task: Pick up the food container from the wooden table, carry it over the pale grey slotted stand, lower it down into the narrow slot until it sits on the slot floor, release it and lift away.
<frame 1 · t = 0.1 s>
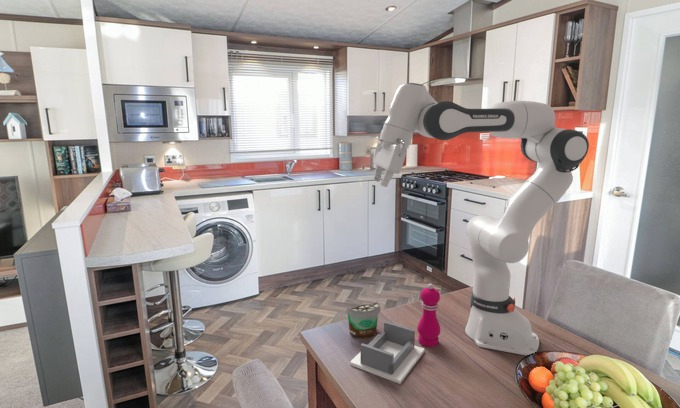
hand: (379, 183, 116), 52 cm above the table, tool tilted 20°, fingers open, 8 cm apart
food container: (366, 335, 131), on the table
pepper mill: (428, 342, 127), on the table
slot stand: (388, 358, 118), on the table
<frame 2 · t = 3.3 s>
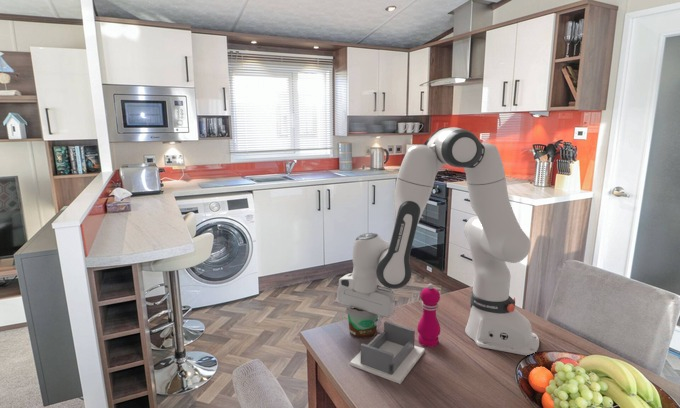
hand: (364, 321, 130), 5 cm above the table, tool pointing down, fingers open, 8 cm apart
food container: (366, 335, 131), on the table, touching gripper
everything else where it was.
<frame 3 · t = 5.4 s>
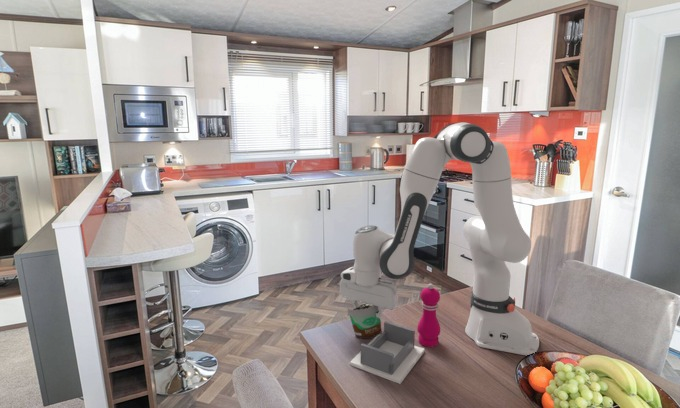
hand: (368, 314, 130), 7 cm above the table, tool pointing down, fingers closed on food container, 7 cm apart
food container: (372, 334, 130), point 1 cm above the table, touching gripper
everything else where it was.
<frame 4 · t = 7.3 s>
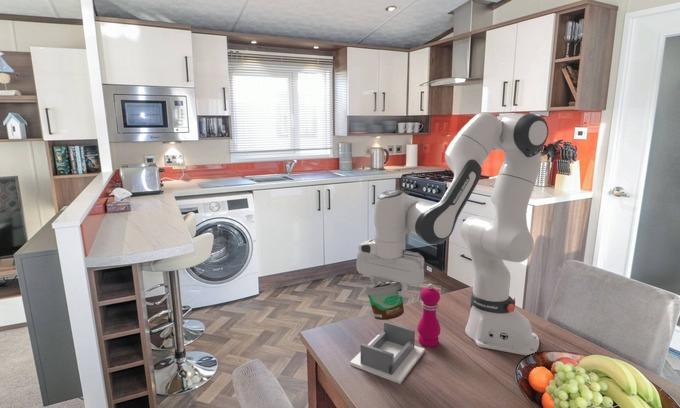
hand: (388, 292, 114), 21 cm above the table, tool pointing down, fingers closed on food container, 7 cm apart
food container: (394, 316, 114), point 14 cm above the table, touching gripper
everything else where it was.
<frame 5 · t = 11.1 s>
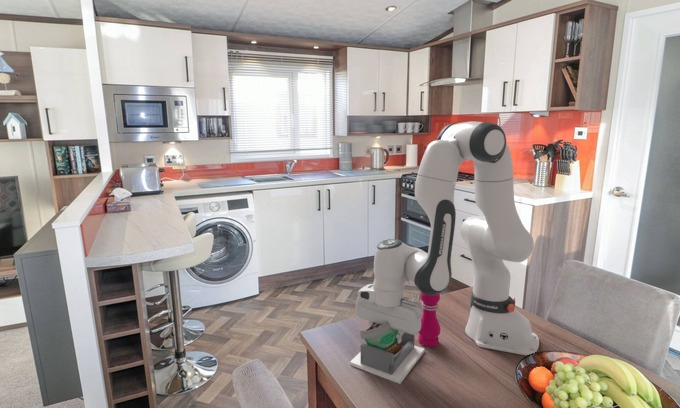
hand: (386, 338, 117), 7 cm above the table, tool pointing down, fingers closed on food container, 6 cm apart
food container: (393, 352, 115), point 3 cm above the table, touching gripper, slot stand
everything else where it was.
when the fingers open (7 cm above the table, at t = 11.1 s): food container drops 2 cm, resting on slot stand.
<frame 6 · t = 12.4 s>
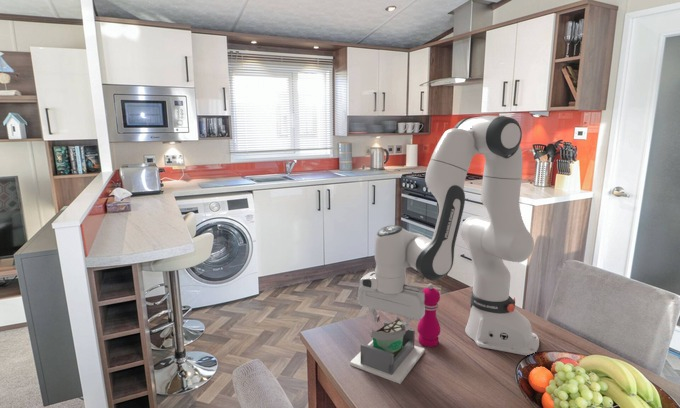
hand: (390, 325, 116), 11 cm above the table, tool pointing down, fingers open, 8 cm apart
food container: (392, 358, 116), point 1 cm above the table, touching slot stand
everything else where it was.
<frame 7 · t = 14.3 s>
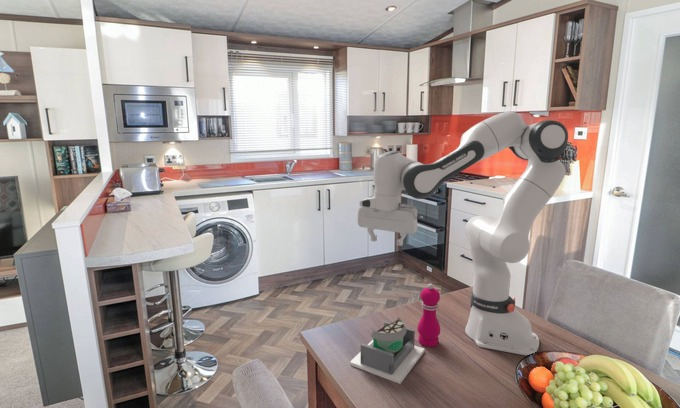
hand: (386, 243, 130), 30 cm above the table, tool pointing down, fingers open, 8 cm apart
nothing on the table moved.
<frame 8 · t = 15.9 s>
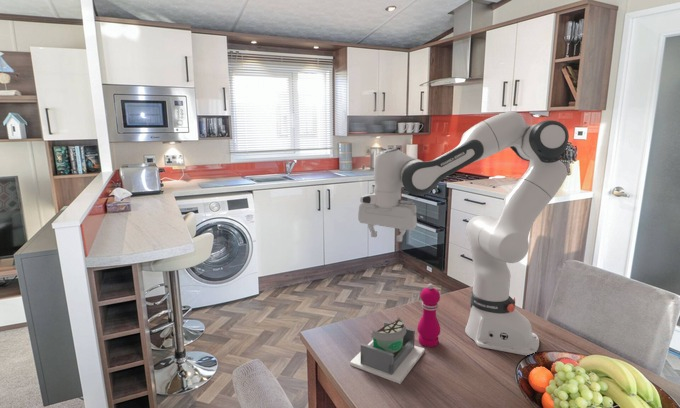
hand: (386, 239, 132), 31 cm above the table, tool pointing down, fingers open, 8 cm apart
nothing on the table moved.
at the end: food container 1.9 cm off-centre on the slot stand, point 0.8 cm above the slot stand's base; food container tilted 0°; the gripper is holding nothing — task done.
